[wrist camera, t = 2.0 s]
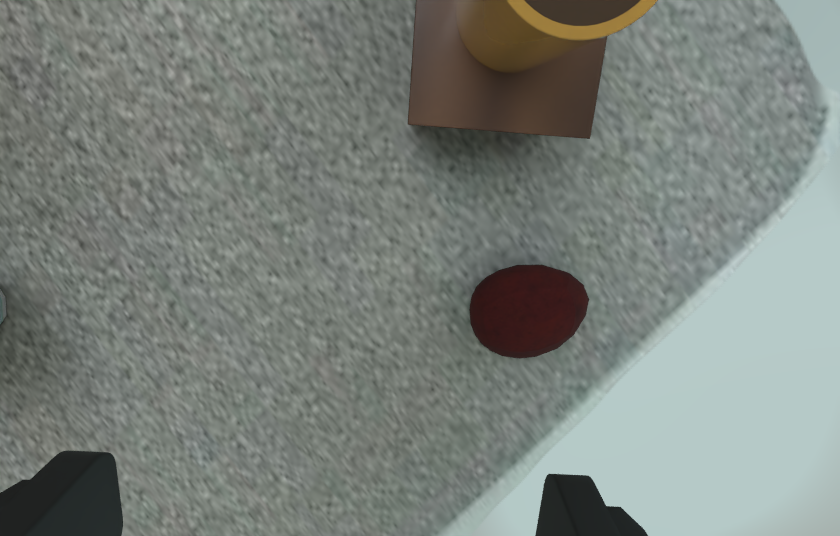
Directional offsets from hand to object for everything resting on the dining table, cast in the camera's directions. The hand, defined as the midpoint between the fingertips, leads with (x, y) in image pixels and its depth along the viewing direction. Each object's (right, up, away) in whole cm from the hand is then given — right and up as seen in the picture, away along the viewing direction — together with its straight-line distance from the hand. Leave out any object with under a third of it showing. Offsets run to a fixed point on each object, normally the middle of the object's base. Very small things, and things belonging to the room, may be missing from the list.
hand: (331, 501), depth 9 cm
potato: (+10, +2, +31) cm, 33 cm away
